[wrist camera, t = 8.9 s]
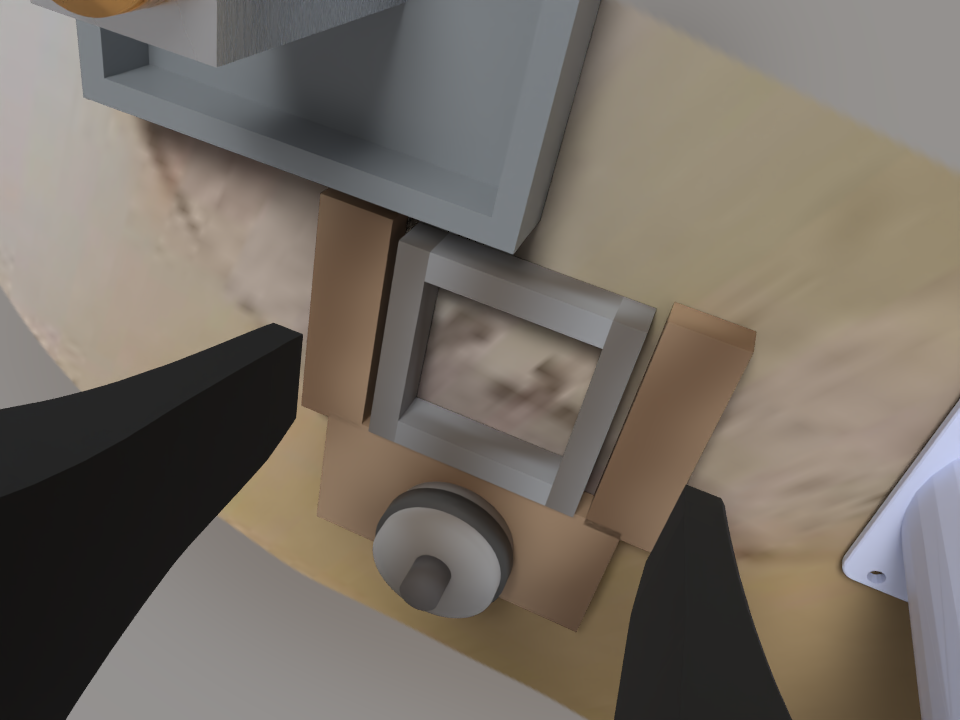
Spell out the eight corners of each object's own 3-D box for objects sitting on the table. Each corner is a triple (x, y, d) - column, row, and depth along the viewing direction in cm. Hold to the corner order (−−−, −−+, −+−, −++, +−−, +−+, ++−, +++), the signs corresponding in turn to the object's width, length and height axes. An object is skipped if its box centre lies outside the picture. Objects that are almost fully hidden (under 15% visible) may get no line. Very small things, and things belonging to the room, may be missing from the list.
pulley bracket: (756, 331, 22) (743, 419, 19) (610, 621, 30) (582, 720, 27) (340, 180, 24) (259, 234, 21) (307, 487, 32) (245, 563, 29)
